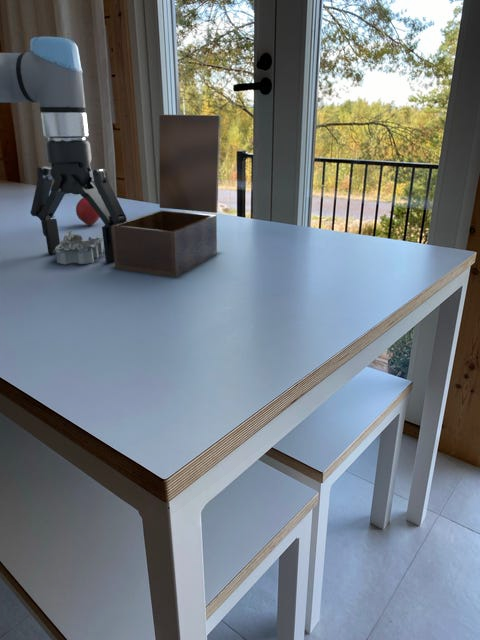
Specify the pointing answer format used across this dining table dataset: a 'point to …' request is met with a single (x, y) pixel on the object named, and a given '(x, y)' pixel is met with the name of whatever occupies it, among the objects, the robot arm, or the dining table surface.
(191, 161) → the chest lid
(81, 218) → the onion
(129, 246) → the chest
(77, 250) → the egg carton
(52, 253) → the robot arm
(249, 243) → the dining table surface
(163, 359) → the dining table surface
